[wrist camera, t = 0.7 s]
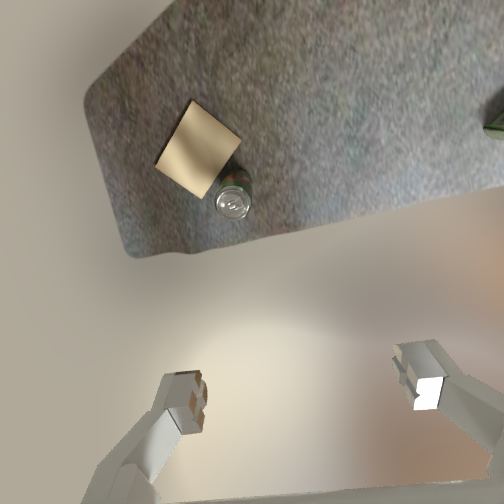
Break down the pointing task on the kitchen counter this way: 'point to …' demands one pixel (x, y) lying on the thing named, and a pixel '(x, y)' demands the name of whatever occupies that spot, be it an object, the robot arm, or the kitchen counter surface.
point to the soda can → (234, 195)
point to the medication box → (496, 127)
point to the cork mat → (197, 150)
